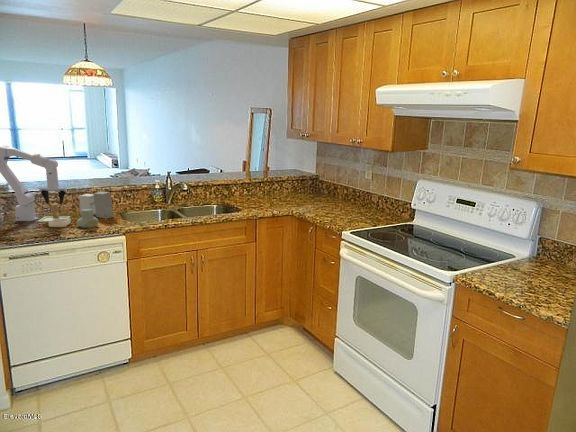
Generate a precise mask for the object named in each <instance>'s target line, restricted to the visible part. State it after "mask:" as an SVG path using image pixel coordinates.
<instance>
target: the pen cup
mask: <svg viewBox="0 0 576 432" xmlns="http://www.w3.org/2000/svg"><path fill="white" fill-rule="evenodd" d="M71 221H72V220H71V218H69V219H53V220H51V221H50V222H47V224H48V227H51V228H53V227H55V228H57V227H58V228H59V227H60V228H62V227H65V228H66V227H67V226H68V225H70V224H71V223H72V222H71Z"/></svg>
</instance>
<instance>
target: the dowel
mask: <svg viewBox="0 0 576 432" xmlns="http://www.w3.org/2000/svg"><path fill="white" fill-rule="evenodd" d="M51 210H52V212H51V213H52V216H53V219H59V216H60V212H59V204H58V203H53V204H51Z"/></svg>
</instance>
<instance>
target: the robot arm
mask: <svg viewBox="0 0 576 432" xmlns="http://www.w3.org/2000/svg"><path fill="white" fill-rule="evenodd" d="M13 156H14V157H18V158H21V159H25V160H27V161H30V162H31V164H33V165H36V166H39V167H41V168H44V169H45V174H46V175H45V176H46V186H47V187H46V186H44V187H43V186H42V187H41V186H40V187H39V188H38V189H39V192H40V194H41V196H43V198H44V201H45V203H46V204H50V200H49V192H58V197H59V204H63V203H64V202H63V201H64V199H65V195H66V193H67V191H68V187H60V186H59V177H58V176H59V175H58V167H59V162H58V161H57V160H56V159H53V158H50V157H46V156H42V155H41V154H39V153H34V154H30V153H28V152H25V151H22V150H20V149H19V148H16V147H13V146H8V145H3V146H0V175H1V176H2V177H3V179H4V180H5V181H6V182H7V183H8V185H9V186H10V188H11V189H12V190H13V191H14V197H15V198H16V202H17V205H15V207H14V212H15V213H14V216H15V222H31V221H35V220H37V219H38V218H39V217H38V216H37V217H36V212H35V211H36V210H35V209H36V208H35V203H34V201H35V200H36V196H35V194H34V193H32V192H31V191H30V190H29V189H27V188H26V187H25V186H24V185H23V184H22V183H21V181H20V179H18V177H17V176H16V175H15V173H14V172H13V170H12V169H11V167H10V166H9V165H8V161H9V159H10V158H11V157H13Z"/></svg>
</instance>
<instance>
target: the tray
mask: <svg viewBox="0 0 576 432" xmlns="http://www.w3.org/2000/svg"><path fill="white" fill-rule="evenodd" d="M59 219H71V215H59ZM51 220H53V215H48V216H47V215H45V216H44V217H42V218H40V219H39V220H37V221H36V222H37V223H48V222H50V221H51Z"/></svg>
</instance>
